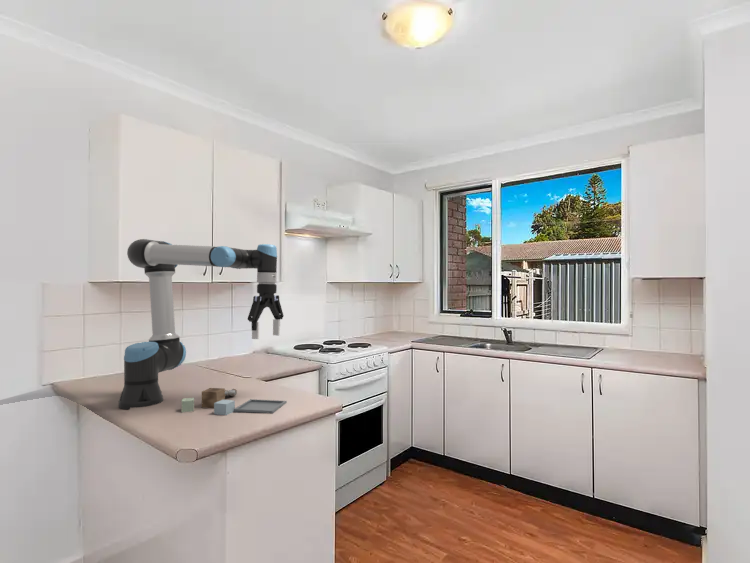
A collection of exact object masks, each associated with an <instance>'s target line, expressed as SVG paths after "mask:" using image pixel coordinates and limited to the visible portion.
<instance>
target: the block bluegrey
mask: <svg viewBox="0 0 750 563" xmlns="http://www.w3.org/2000/svg"><path fill="white" fill-rule="evenodd" d="M235 406H236V401H235V400H231V399H225V400H221V401H218V402H216V403H214V408H213V414H214V415H218V416H227V415H230V414H232V413H235V412H234V409H235V408H236V407H235Z"/></svg>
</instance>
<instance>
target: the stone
mask: <svg viewBox="0 0 750 563" xmlns="http://www.w3.org/2000/svg"><path fill="white" fill-rule="evenodd" d="M237 394H238V392H237V388H231V389H227V390H226V389H225V397H227V396H230V397H234V396H236V395H237Z"/></svg>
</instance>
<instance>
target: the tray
mask: <svg viewBox="0 0 750 563" xmlns="http://www.w3.org/2000/svg"><path fill="white" fill-rule="evenodd" d="M286 404H287V400H275V399H273V400H272V399H257V398H256V399H255V398H254V399H253V398H250V399H249V400H247V401H245V402H243V403H242V404H239V405H238V406H237V407H235V409H234V412H233V413H241V414H242V413H245V414H272V415H273V414H274V413H275V412H277V411H278V410H279V409H281V408H282V407H283V406H284V405H286Z"/></svg>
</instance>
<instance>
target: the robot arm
mask: <svg viewBox="0 0 750 563" xmlns="http://www.w3.org/2000/svg"><path fill="white" fill-rule="evenodd" d="M277 251H278V249H277V246H276V245H275V244H268V243H267V244H264V243H262V244H258V245H257V248H256V249H241V248H235V247H229V246H224V245H220V246H211V245H210V246H209V245H190V244H189V245H188V244H187V245H186V244H172V243H170V242H166V241H162V240H160V241H159V240H152V239H147V238H142V239H140V238H139V239H137V240H136V239H135V240H134V241H133V242H131V243H130V244H129V245H128V247H127V254H126V255H127V259H128V261H129V262H130V263H131V264H132V265H133V266H136V267H138V268H141V269H144V275H145V276H147V277H148V282H149V295H150V296H149V298H150V300H149V301H150V313H151V332H152V336H151V337H149V339H148V341H142V342H136V343H132V344H129V345H127V346H126V347H125V349H124V354H123V368H124V369H123V372H124V373H123V376H124V377H123V378H124V379H123V382H124V383H123V385H124V386H123V388H122V391H121V394H120V396H119V400H118V408H120V409H122V410H130V409H133V408H134V409H137V408H144V407H150V406H155V405H158V404H160V403H162V402H163V401H164V396H163V394H162V390H161V387H160V384H159V373H162V372H166V371H171V370H174V369H176V368H178V367H179V366H181V365H182V364H183V363H184V361H185V360H186V355H187V350H186V346H185V345H184V343H183V342H182V341H180V336H179V335H178V334H177V333H176V327H175V326H176V325H175V310H174V307H175V306H174V292H173V290H174V289H173V275H175V274H176V267H178V266H180V265H181V266H196V267H197V266H199V267H200V266H202V267H216V268H232V269H237V270H238V269H239V270H241V269H246V270H247V269H257V270H256V272H257V274H256V282H257V283H258V284H257V285H256V293H257V294H258V295H254V296H253V299H252V304H251V306H250V310H249V312H248V316H247V321H249V323H251V339H252V340H260V321H259V319H260V318H261V315H262V314H263V312H264V309H267V308H269V310H270V312H271V314H272V317H273V318H274V319H272V335H273V336H281V335H280V330H281V329H280V328H281V320H283V318H284V312H283V309H282V305H281V301H280V295H276V294H277V284H276V283H277V272H278V271H277V269H278V267H277V266H278V263H277V261H278V252H277Z"/></svg>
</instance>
